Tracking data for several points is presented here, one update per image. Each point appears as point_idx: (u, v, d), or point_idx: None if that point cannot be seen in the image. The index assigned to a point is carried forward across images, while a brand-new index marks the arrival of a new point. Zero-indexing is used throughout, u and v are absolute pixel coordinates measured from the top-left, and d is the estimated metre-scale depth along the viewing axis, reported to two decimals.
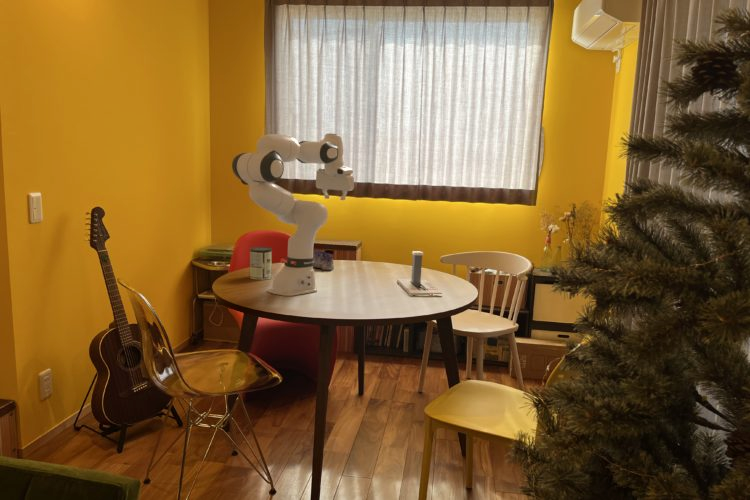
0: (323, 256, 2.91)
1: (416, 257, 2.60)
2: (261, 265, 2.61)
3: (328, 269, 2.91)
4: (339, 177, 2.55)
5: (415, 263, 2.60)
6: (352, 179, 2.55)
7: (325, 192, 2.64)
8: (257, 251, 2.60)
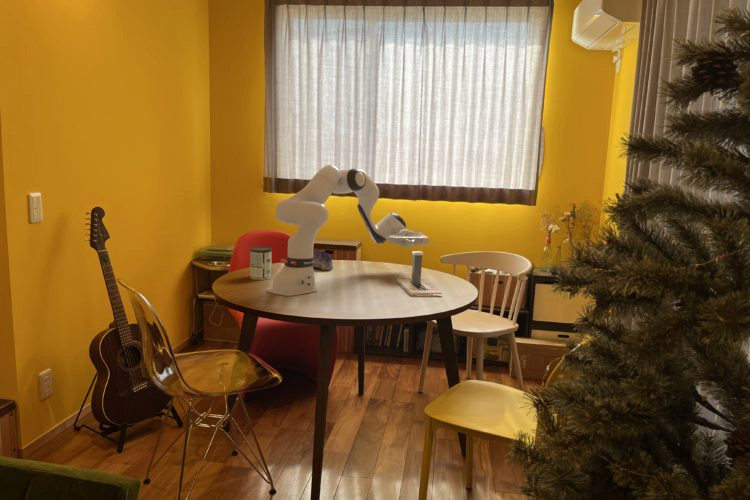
0: (322, 256, 2.90)
1: (416, 257, 2.60)
2: (261, 265, 2.61)
3: (327, 269, 2.90)
4: (415, 235, 2.83)
5: (415, 263, 2.60)
6: None
7: None
8: (257, 251, 2.60)
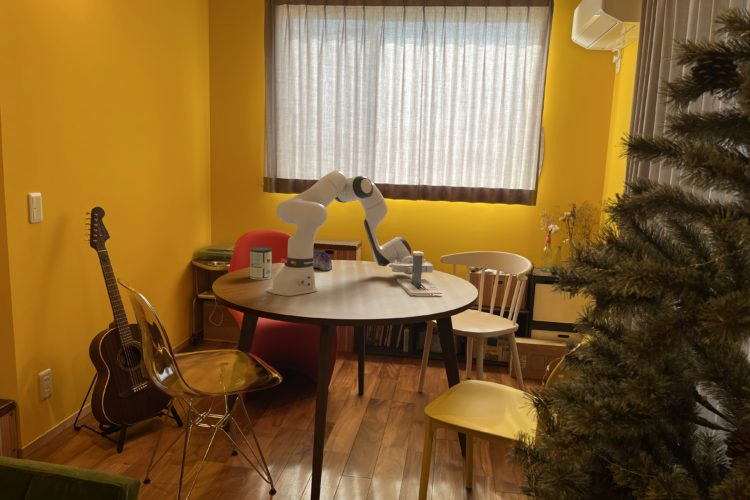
0: (321, 256, 2.90)
1: (416, 257, 2.59)
2: (261, 265, 2.61)
3: (326, 269, 2.90)
4: None
5: (415, 264, 2.59)
6: None
7: None
8: (257, 251, 2.60)
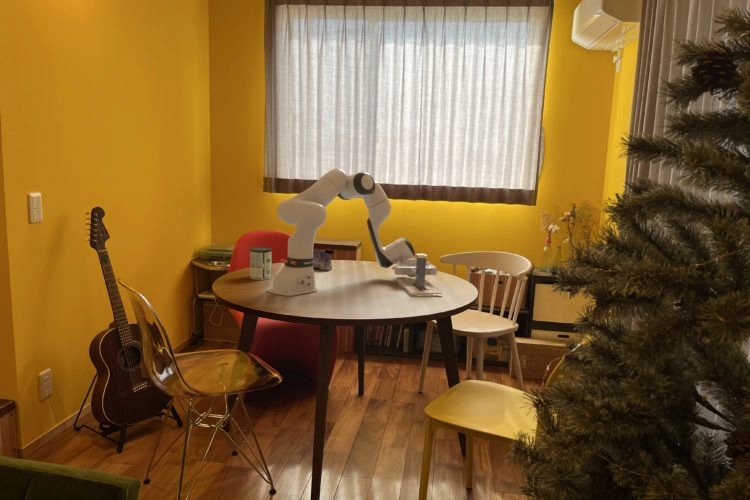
0: (321, 256, 2.90)
1: (420, 260, 2.53)
2: (261, 265, 2.61)
3: (326, 269, 2.90)
4: None
5: (419, 266, 2.53)
6: None
7: None
8: (257, 251, 2.60)
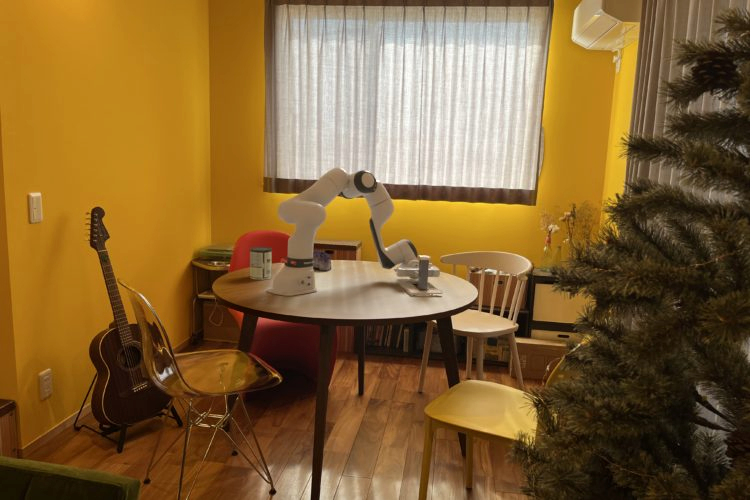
0: (320, 256, 2.90)
1: (423, 262, 2.48)
2: (261, 265, 2.61)
3: (325, 269, 2.89)
4: None
5: (421, 268, 2.49)
6: None
7: None
8: (257, 251, 2.60)
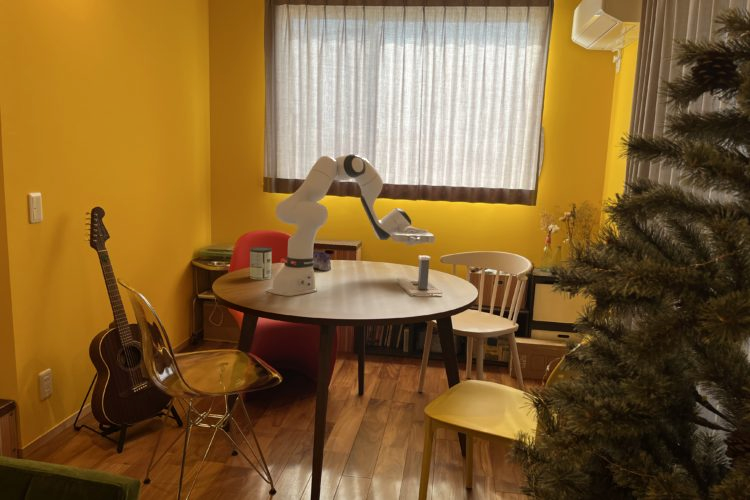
0: (320, 256, 2.90)
1: (423, 262, 2.48)
2: (261, 265, 2.61)
3: (324, 269, 2.89)
4: (421, 232, 2.72)
5: (422, 268, 2.48)
6: None
7: None
8: (257, 251, 2.60)
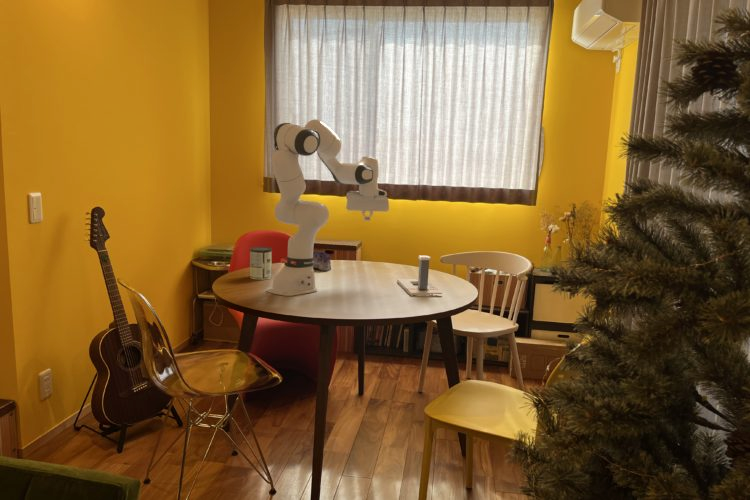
0: (320, 256, 2.89)
1: (423, 262, 2.48)
2: (261, 265, 2.61)
3: (325, 270, 2.89)
4: (378, 198, 2.66)
5: (422, 268, 2.48)
6: None
7: None
8: (257, 251, 2.60)
